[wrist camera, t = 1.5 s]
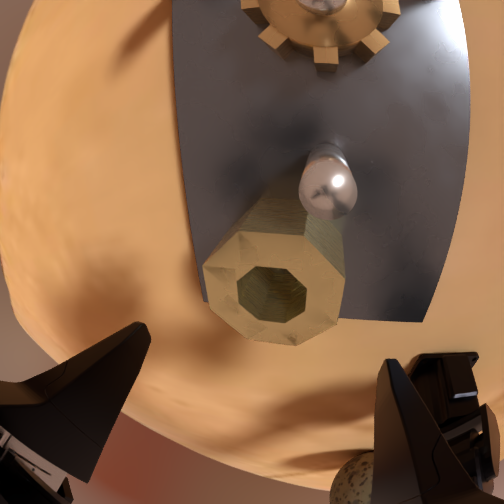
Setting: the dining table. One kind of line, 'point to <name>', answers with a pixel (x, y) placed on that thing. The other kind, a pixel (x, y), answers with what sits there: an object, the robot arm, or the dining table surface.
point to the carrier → (330, 131)
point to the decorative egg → (354, 481)
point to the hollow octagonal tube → (276, 284)
